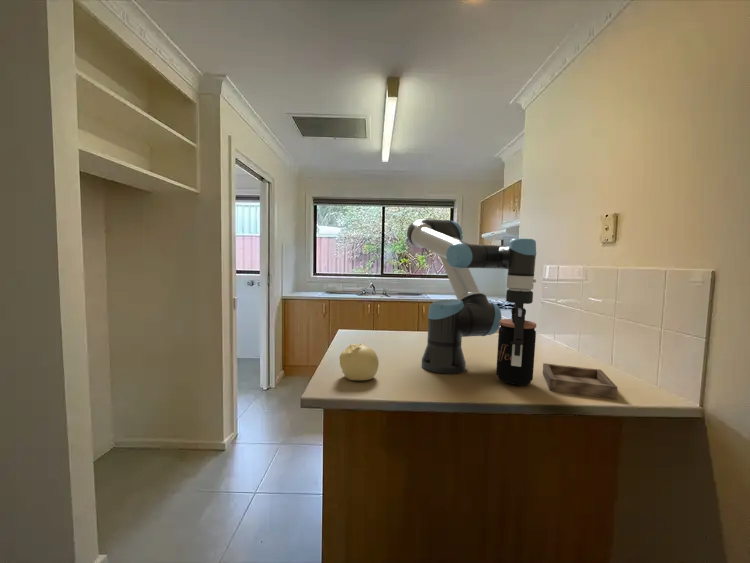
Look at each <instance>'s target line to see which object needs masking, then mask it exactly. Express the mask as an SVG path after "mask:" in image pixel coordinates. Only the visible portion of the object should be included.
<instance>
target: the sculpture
mask: <svg viewBox="0 0 750 563" xmlns="http://www.w3.org/2000/svg"><path fill="white" fill-rule="evenodd" d="M339 366H340V368H341V372H342V374H344V377H345V378H347V380H350V381H369V380H372V379H373V378H374V377H375V376H376V375H377V372H378V369H379V357H378V355H377V353H376V351H375V350H374V349H373V348H372V347H370V346H368V345H366V344H365V343H351V344H350V345H349V346H347V347H346V348H345V349H344V350H343V351H342V352H341V353H340V355H339Z"/></svg>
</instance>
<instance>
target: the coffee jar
mask: <svg viewBox="0 0 750 563" xmlns="http://www.w3.org/2000/svg"><path fill="white" fill-rule="evenodd" d="M499 324H500V327H499V329H498V336H497V338H498V340H497V355H496V368H495V369H496V372H495V373H496V376H497V378H498V379H499V380H500V381H501V382H504V383H508V384H510V385H519V386H522V385H529V384H531V382H532V381H533V379H534V367H535V366H534V364H535V352H536V340H537V338H536V336H537V333H536V332H537V331H536V330H535V329H536V328H537V323H535V322H534V321H531V320H526V319H525V322H524V333H523V341H524V343H523V344H522V345H523V346H522V361H521V367H519V366H511V360H512V345H513V344H511V341H513V338H514V327H515V324H514V323H513V322H512V318H504V319H502V318H501V320H500V321H499ZM517 340H520V339H517Z"/></svg>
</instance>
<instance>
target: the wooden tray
mask: <svg viewBox="0 0 750 563" xmlns="http://www.w3.org/2000/svg"><path fill="white" fill-rule="evenodd" d="M542 365H543V366H542V375H543V378H544V380H545V382H546V385H547V389H548V390H549V391H552V392H557V391H558V393H565V394H574V395H581V396H589V397H596V398H604V399H611V400H617V398H618V386H617V385H616V384H615V383H614V382H613V381H612V380H611V379H610V378H609V377H608V376H607V374H606V373H605V372H604V371H603V370H602V369H597V368H590V367H580V366H571V365H563V364H562V365H561V364H556V363H555V364H553V363H546V362H545V363H544V362H543V364H542Z"/></svg>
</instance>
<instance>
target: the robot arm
mask: <svg viewBox="0 0 750 563" xmlns="http://www.w3.org/2000/svg"><path fill="white" fill-rule="evenodd" d="M406 238H407V240H408V242H409V243H410V244H411V245H413V246H415V247H416V248H419V249H423V248H425V249H426V250H428V251H430V252H432V253H434V254H435V255H436V256H438V257H439V258H440V260H441V264H442V265H443V269H444V270H445V273H446V275H447V277H448V280H449V283H450V285H451V287H452V290H453V293H454V295H455V297H456V298H455V299H452V298H451V299H439V300H435V301H434V302H431V304H429V308H428V314H427V318H428V319H427V321H428V322H427V344H426V347H425V349H424V353H423V355H422V357H421V368H422V369H424V370H426V371H428V372H432V373H437V374H444V375H445V374H447V375H452V374H453V375H454V374H461V373H464V372H465V371H466V360H465V356H464V352H463V349H462V343H463V342H462V339H463V338H464V337H466V338H467V337H485V336H491V335H494V334H496V333H497V332H498V331H499V328H500V327H501V325H500V324H499V321H500V320H502V312H501V309H500V307H499V306H498V304H496V303H494V302H489V300H488V298H487V296H486V294H485V293H483V292H480V290H479V289H478V288H479V287H478V286H477V283H476V281H475V280H474V277H473V275H472V272H471V270H470V269H495V270H496V269H498V270H499V269H500V270H501V269H502V270H503V269H504V270H507V275H506V276H507V277H506V278H507V279H506V288H507V290H506V295H505V298H506V299H505V300H506V302H507V303H510V304H513V305H512V307H511V319H512V322H513V323H514V324H515V327H514V338H513V341H511V344H513V345H512V360H511V366H519V367H521V361H522V346H523V345H522V344H523V343H524V341H523V333H524V322H525V320H526V313H527V310H526V308H525V307H524V305H525V304H527V305H528V304H529V305H530V304H532V303H533V301H534V300H533V299H534V291H533V289H534V283H536V282H537V280H536V279H535V271H536V257H537V243H536V240H535V239H533V238H512V239H510V240H509V245H497V244H496V245H494V244H493V245H491V244H490V245H489V244H473V243H467V242H465V241H463V230H462V227H461V225H460V224H459V223H458V222H456V221H453V220H450V219H433V218H431V219H430V218H420V219H416V220H414V221H413V222H411V224H410V225H409V226H408V227H407V230H406ZM517 339H520V340H517Z"/></svg>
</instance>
